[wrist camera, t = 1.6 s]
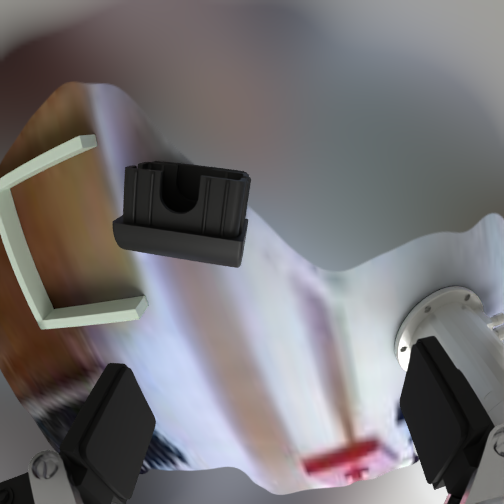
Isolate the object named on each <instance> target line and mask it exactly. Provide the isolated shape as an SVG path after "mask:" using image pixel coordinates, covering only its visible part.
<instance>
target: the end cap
mask: <svg viewBox="0 0 504 504" xmlns="http://www.w3.org/2000/svg"><path fill="white" fill-rule="evenodd" d="M250 182H251V179H250V177H249V175H248V174H247V173H246V172H244V171H237V170H229V169H223V168H215V167H206V166H199V165H190V164H181V163H171V162H161V161H155V162H143V163H140V164H138V169H137V166H129V167H125V182H124V204H123V215H122V216H121V217H119V218H117V219H116V220H114V221H113V233H114V237H115V240H116V242H117V244H118V246H119V247H121V248H122V249H126V250H132V251H137V252H143V253H149V254H155V255H161V256H167V257H173V258H179V259H185V260H192V261H198V262H204V263H210V264H217V265H223V266H229V267H236V268H238V267H240V265H241V261H242V256H243V250H244V244H245V238H246V232H247V225H248V219H245V216H246V209H247V202H248V196H249V189H250Z"/></svg>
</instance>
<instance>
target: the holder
mask: <svg viewBox="0 0 504 504" xmlns="http://www.w3.org/2000/svg"><path fill="white" fill-rule="evenodd" d="M96 146H97V141H96V137H95V135H80V136H78V137H75V138H73V139H71V140H69V141H67V142H65V143H63V144H61V145H59V146H57V147H55V148H53V149H51V150H49V151H47V152H45V153H43V154H41V155H40V156H38V157H36V158H34V159H32V160H30V161H29V162H27V163H25V164H23V165H22V166H20V167H18V168H16V169H15V170H13V171H11V172H10V173H8V174H6V175H5V176H3V177H2V178H0V234H1V237H2V240H3V243H4V246H5V249H6V252H7V254H8V257H9V260H10V262H11V265H12V267H13V270H14V272H15V275H16V277H17V280H18V282H19V284H20V287H21V289H22V291H23V293H24V296H25V298H26V300H27V302H28V304H29V306H30V308H31V311H32V313H33V315H34V317H35V319H36V321H37V323H38V325H39V326H40V328H41V329H51V328H63V327H74V326H84V325H94V324H104V323H113V322H122V321H130V320H139V319H140V318H141V317H142V315H143V313H144V312H145V310H146V309H147V307H148V306H149V305H148V302H147V300H146V297H145V296H139V297H132V298H126V299H119V300H113V301H106V302H100V303H93V304H86V305H79V306H72V307H65V308H58V309H54V308H53V306H52V304H51V302H50V299H49V297H48V295H47V293H46V290H45V288H44V286H43V284H42V281H41V279H40V276H39V274H38V272H37V269H36V267H35V264H34V261H33V259H32V256H31V254H30V251H29V248H28V245H27V243H26V240H25V237H24V234H23V231H22V228H21V225H20V222H19V218H18V215H17V212H16V209H15V205H14V202H13V198H12V194H11V191H10V188H11V187H13V186H15V185H17V184H18V183H20V182H22V181H24V180H26V179H28V178H30V177H32V176H34V175H35V174H37V173H39V172H41V171H43V170H45V169H47V168H49V167H52V166H54V165H56V164H58V163H60V162H62V161H64V160H66V159H69V158H71V157H73V156H75V155H78V154H80V153H82V152H84V151H87V150H89V149H92V148H94V147H96Z"/></svg>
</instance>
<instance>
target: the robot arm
mask: <svg viewBox="0 0 504 504" xmlns="http://www.w3.org/2000/svg"><path fill="white" fill-rule="evenodd" d="M502 323H504V315H503V313H499V314H497V315H494V316H493V317H488V316H487V315H486V314H485V313H484V309H483V305H482V302H481V300H480V299H479V297H478V296H477V295H476V294H475V293H474V292H473V291H471V290H470V289H468V288H466V287H460V286H452V287H447V288H444V289H441V290H438V291H436V292H434V293H432V294H431V295H429V296H428V297H426V298H425V299H423V300H422V301H421V302H420V303H419V304H418V305H417V306H415V308H414V309H413V310H412V311H411V312H410V313H409V314H408V316H407V317H406V319H405V320H404V322H403V323H402V325H401V327H400V329H399V331H398V334H397V338H396V342H395V354H396V357H397V360H398V362H399V364H400V366H401V367H402V369H403V370H405V371H406V377H405V381H404V385H403V389H402V393H401V397H400V407H401V410H402V413H403V415H404V418H405V421H406V423H407V426H408V429H409V431H410V434H411V437H412V440H413V442H414V445H415V448H416V451H417V454H418V457H419V459H420V462H421V465H422V468H423V471H424V474H425V477H426V480H427V482H428V483H429V484H433V487H434V490H436V489H438V488H441V487H444V486H446V489H447V492H448V496H447V498H446V500H445V502H444V504H504V344H503V343H502V340H504V325H501V326H499V327H496V328H494V329H493V327H494V326H498V325H500V324H502ZM155 424H156V421H155V417H154V415H153V413H152V411H151V409H150V407H149V405H148V403H147V401H146V399H145V397H144V395H143V393H142V391H141V389H140V387H139V385H138V383H137V381H136V379H135V376H134V374H133V372H132V370H131V369H130V368H128V367H127V366H126V365H125V364H119V363H109V364H108V365H107V366H106V368H105V370H104V371H103V373H102V374H101V376H100V378H99V379H98V381H97V383H96V384H95V386H94V388H93V389H92V391H91V393H90V395H89V396H88V398H87V400H86V401H85V403H84V405H83V407H82V408H81V410H80V412H79V413H78V415H77V417H76V419H75V421H74V422H73V424H72V426H71V428H70V429H69V431H68V433H67V435H66V437H65V438H64V440H63V442H62V444H61V446H60V448H59V449H60V450H61V451H60V453H59V454H58V453H57V452H55V451H52V450H45V451H41V452H39V453H37V454H36V455H35V456H34V457H33V458H32V459H31V461H30V463H29V466H28V469H29V470H28V472H27V473H25V474H22V475H20V476H17V477H14V478H12V479H9V480H6V481H4V482H1V483H0V504H111V502H113V503H117V504H126V501H127V499H130V498H131V496H132V494H133V491H134V488H135V485H136V482H137V478H138V475H139V473H140V470H141V466H142V463H143V460H144V458H145V455H146V452H147V449H148V446H149V443H150V440H151V437H152V434H153V431H154V428H155Z"/></svg>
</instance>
